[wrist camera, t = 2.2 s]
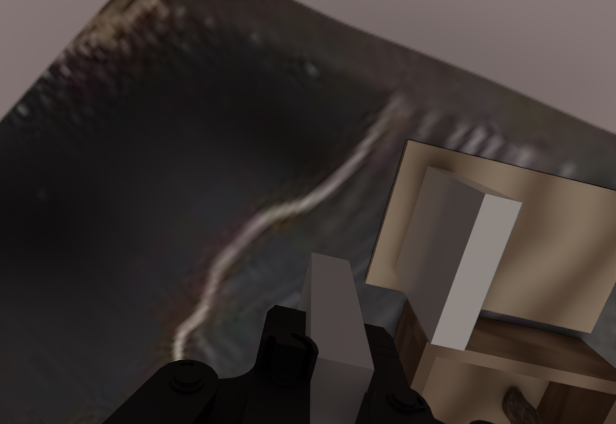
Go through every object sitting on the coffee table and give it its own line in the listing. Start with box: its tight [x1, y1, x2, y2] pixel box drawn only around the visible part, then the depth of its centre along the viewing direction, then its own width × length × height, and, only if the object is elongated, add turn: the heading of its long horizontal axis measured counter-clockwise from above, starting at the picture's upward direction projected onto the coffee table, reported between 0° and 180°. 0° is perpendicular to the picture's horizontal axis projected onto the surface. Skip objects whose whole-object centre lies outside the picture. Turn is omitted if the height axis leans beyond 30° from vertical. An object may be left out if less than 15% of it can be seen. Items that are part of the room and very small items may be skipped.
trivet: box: [365, 140, 616, 333], centre depth 31 cm, size 20×12×1 cm, turn 77°
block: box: [394, 166, 522, 351], centre depth 26 cm, size 2×9×10 cm, turn 167°
